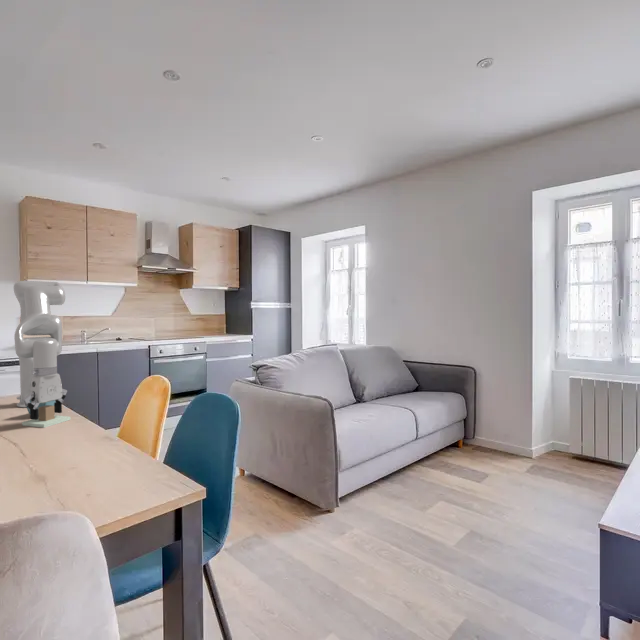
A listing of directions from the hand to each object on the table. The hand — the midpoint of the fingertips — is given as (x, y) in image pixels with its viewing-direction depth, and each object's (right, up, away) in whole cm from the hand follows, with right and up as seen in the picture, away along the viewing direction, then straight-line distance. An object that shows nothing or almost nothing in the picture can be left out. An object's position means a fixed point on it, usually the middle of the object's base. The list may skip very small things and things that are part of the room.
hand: (46, 415), depth 156 cm
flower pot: (-10, -4, +12) cm, 16 cm away
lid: (0, -3, 0) cm, 3 cm away
